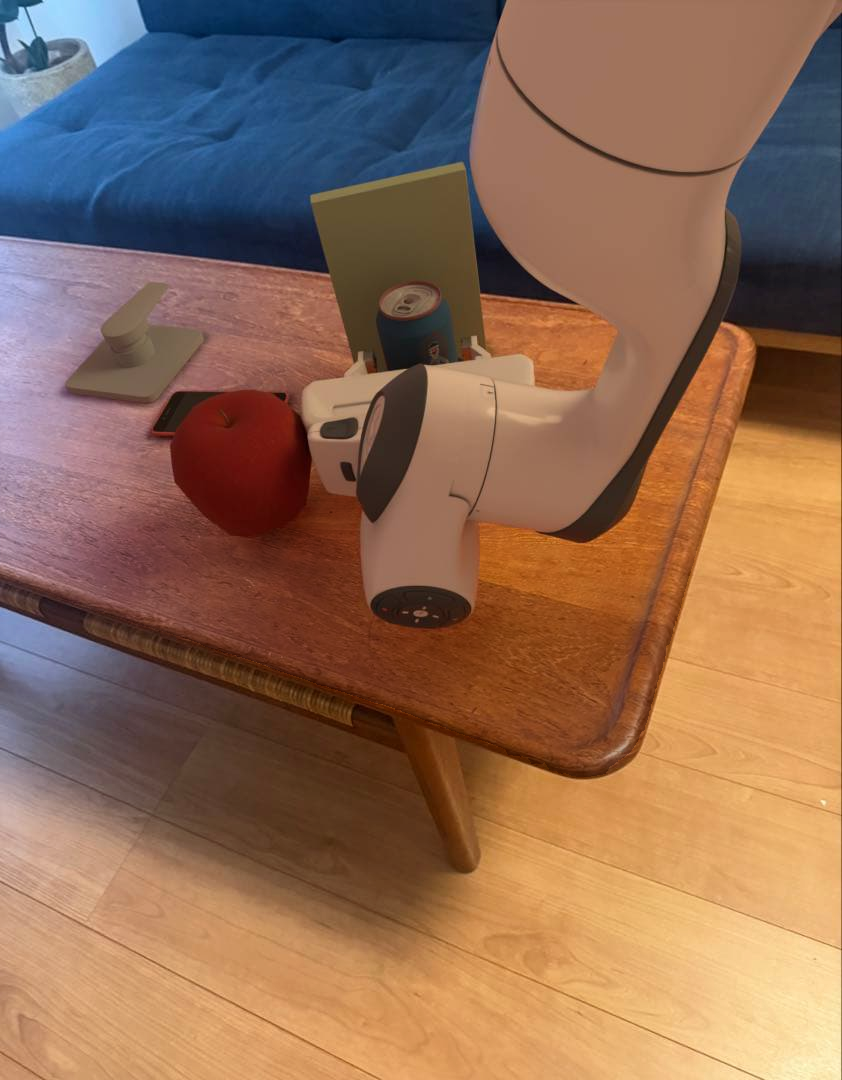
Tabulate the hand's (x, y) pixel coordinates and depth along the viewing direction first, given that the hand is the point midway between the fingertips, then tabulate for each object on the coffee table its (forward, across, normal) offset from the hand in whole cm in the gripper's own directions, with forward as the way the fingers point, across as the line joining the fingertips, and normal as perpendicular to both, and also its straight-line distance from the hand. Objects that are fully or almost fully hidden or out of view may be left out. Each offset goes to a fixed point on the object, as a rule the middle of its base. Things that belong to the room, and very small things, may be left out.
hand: (418, 349), depth 75 cm
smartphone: (+5, +22, +9) cm, 25 cm away
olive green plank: (+9, +1, +9) cm, 13 cm away
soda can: (+2, 0, +8) cm, 9 cm away
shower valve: (+18, +34, +9) cm, 39 cm away
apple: (-11, +16, +9) cm, 21 cm away
